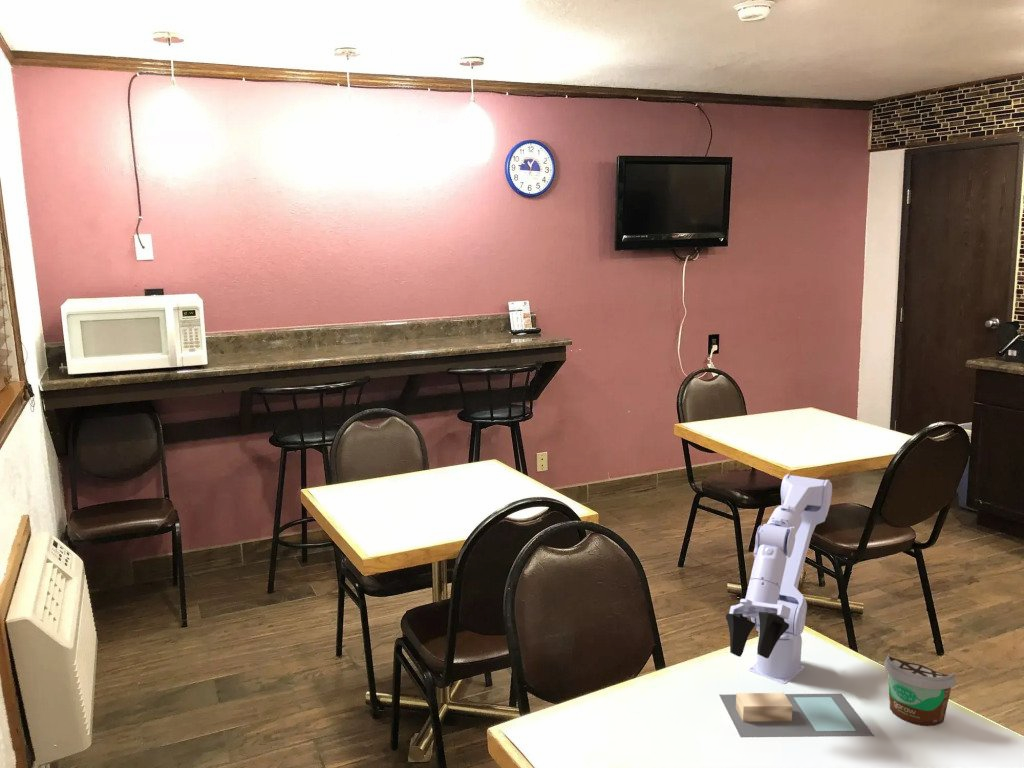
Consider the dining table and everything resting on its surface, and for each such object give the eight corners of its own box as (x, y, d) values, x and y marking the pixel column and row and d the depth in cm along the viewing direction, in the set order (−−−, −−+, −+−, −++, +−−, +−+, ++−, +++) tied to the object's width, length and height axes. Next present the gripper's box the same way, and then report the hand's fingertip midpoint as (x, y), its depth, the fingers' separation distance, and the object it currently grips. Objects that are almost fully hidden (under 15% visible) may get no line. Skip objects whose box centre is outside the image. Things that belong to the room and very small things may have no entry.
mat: (841, 695, 158) (841, 693, 158) (874, 738, 144) (874, 735, 144) (719, 696, 158) (719, 694, 158) (740, 739, 144) (740, 736, 144)
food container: (871, 712, 153) (875, 662, 151) (882, 699, 157) (886, 650, 156) (942, 738, 144) (947, 686, 143) (952, 724, 149) (957, 673, 147)
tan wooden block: (783, 707, 153) (783, 692, 153) (791, 721, 149) (792, 706, 148) (735, 708, 153) (736, 693, 153) (742, 721, 149) (743, 706, 148)
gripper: (724, 578, 159) (707, 645, 154) (774, 574, 146) (758, 648, 141) (752, 592, 161) (736, 659, 155) (804, 590, 148) (789, 663, 143)
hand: (748, 655), depth 148 cm, fingers open, 7 cm apart
